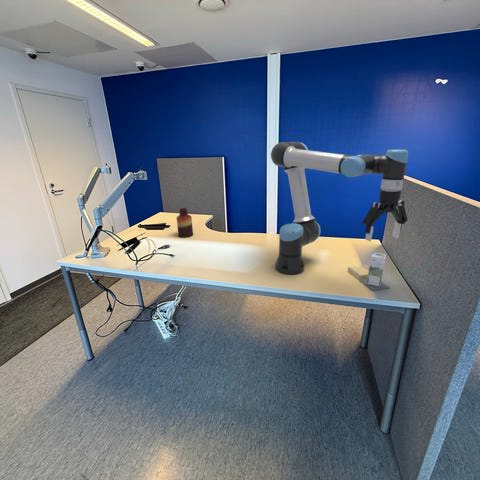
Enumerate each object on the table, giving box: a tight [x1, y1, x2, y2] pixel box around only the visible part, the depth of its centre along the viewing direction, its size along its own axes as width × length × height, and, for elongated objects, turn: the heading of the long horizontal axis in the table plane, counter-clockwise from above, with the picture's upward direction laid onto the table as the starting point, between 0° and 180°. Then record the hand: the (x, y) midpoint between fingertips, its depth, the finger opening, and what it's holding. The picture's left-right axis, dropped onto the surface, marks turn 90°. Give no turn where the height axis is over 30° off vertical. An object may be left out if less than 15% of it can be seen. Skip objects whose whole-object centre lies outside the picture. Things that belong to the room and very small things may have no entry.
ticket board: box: [347, 264, 369, 281], centre depth 128 cm, size 10×9×2 cm
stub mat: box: [358, 279, 390, 292], centre depth 119 cm, size 9×9×1 cm
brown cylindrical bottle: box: [176, 207, 194, 239], centre depth 188 cm, size 11×11×20 cm
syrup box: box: [367, 251, 387, 287], centre depth 116 cm, size 6×6×14 cm
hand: (381, 238), depth 111 cm, fingers open, 13 cm apart
